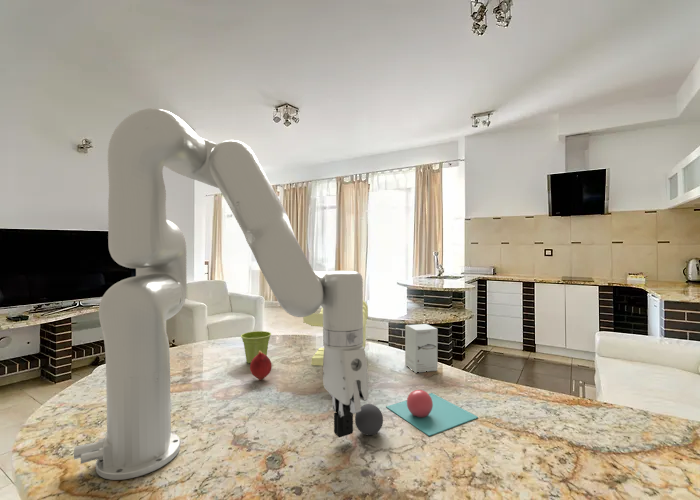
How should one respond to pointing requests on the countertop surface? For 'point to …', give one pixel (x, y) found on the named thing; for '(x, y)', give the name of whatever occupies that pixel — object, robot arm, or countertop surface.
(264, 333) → the plant pot
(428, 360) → the supplement box
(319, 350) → the slatted curved stool
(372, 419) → the dark gray ball
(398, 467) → the countertop surface
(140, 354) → the robot arm
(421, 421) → the teal mark
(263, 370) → the onion
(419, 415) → the red ball
